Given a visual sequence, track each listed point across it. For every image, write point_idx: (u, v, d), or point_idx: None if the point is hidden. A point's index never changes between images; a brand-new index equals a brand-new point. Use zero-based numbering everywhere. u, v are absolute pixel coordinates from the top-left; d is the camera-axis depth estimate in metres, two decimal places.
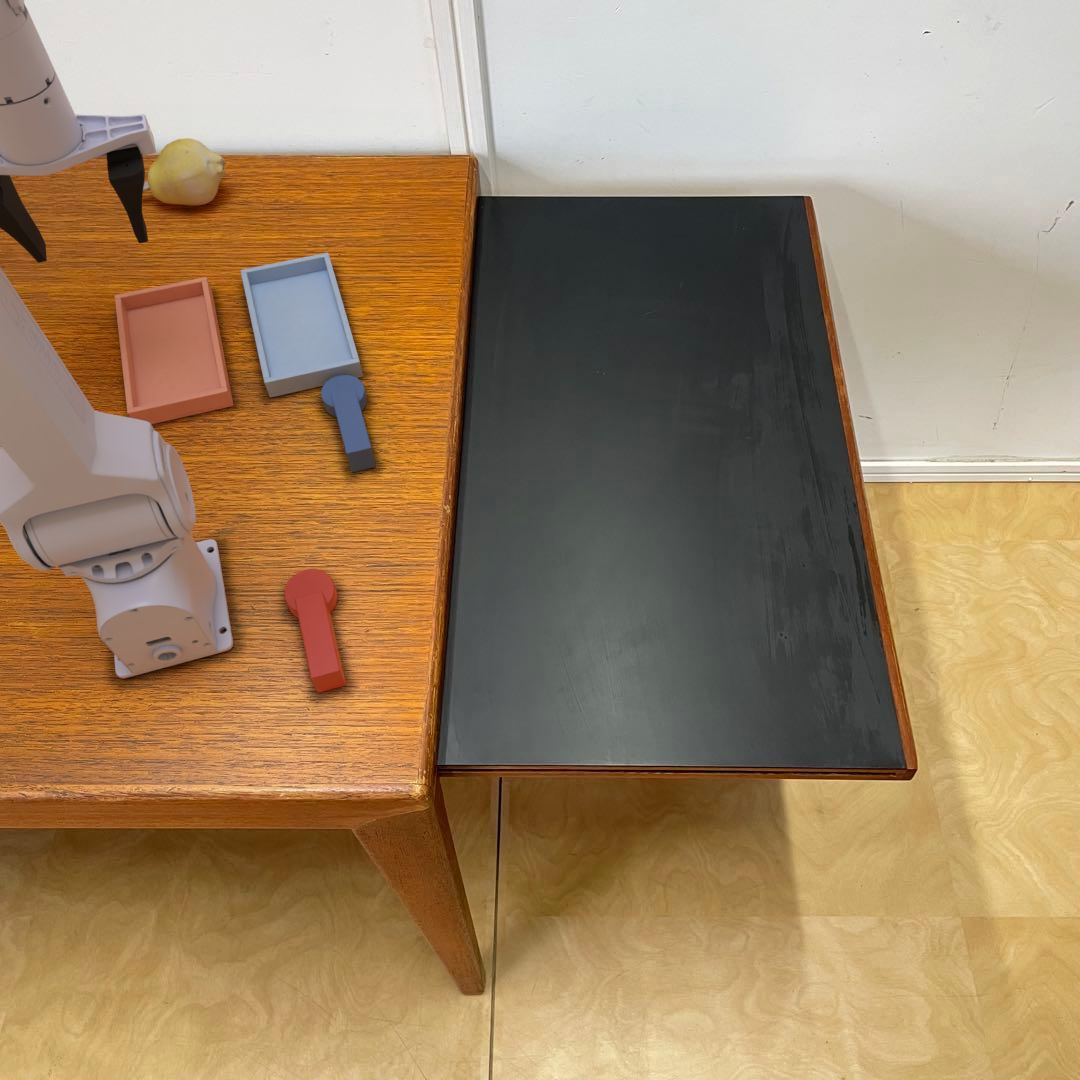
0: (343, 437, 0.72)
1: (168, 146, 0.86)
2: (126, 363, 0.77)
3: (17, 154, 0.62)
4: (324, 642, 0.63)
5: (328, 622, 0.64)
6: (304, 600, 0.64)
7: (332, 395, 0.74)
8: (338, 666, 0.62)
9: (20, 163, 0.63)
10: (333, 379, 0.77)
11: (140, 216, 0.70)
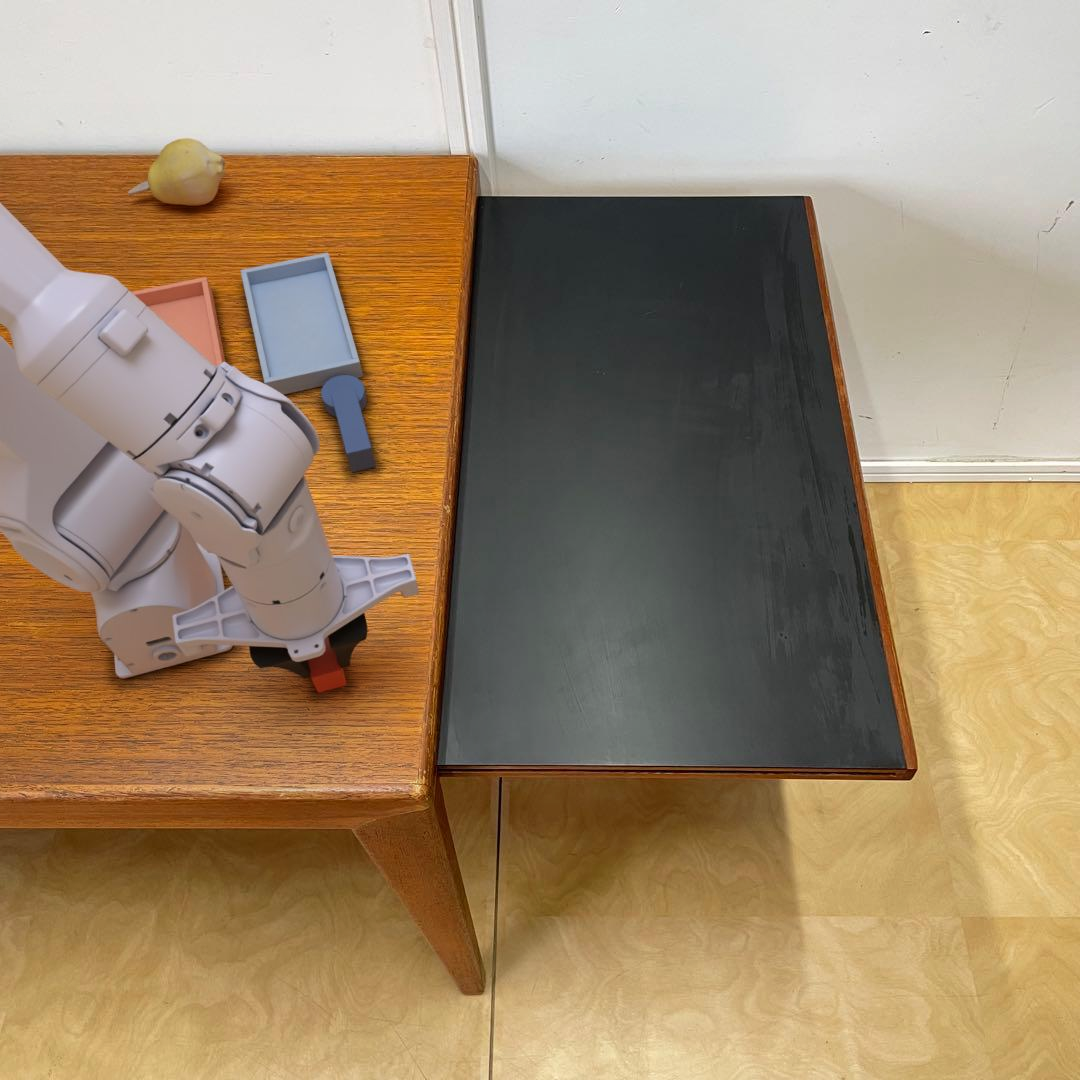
0: (343, 437, 0.72)
1: (168, 146, 0.86)
2: None
3: None
4: None
5: None
6: None
7: (332, 395, 0.74)
8: (338, 666, 0.62)
9: None
10: (333, 379, 0.77)
11: None
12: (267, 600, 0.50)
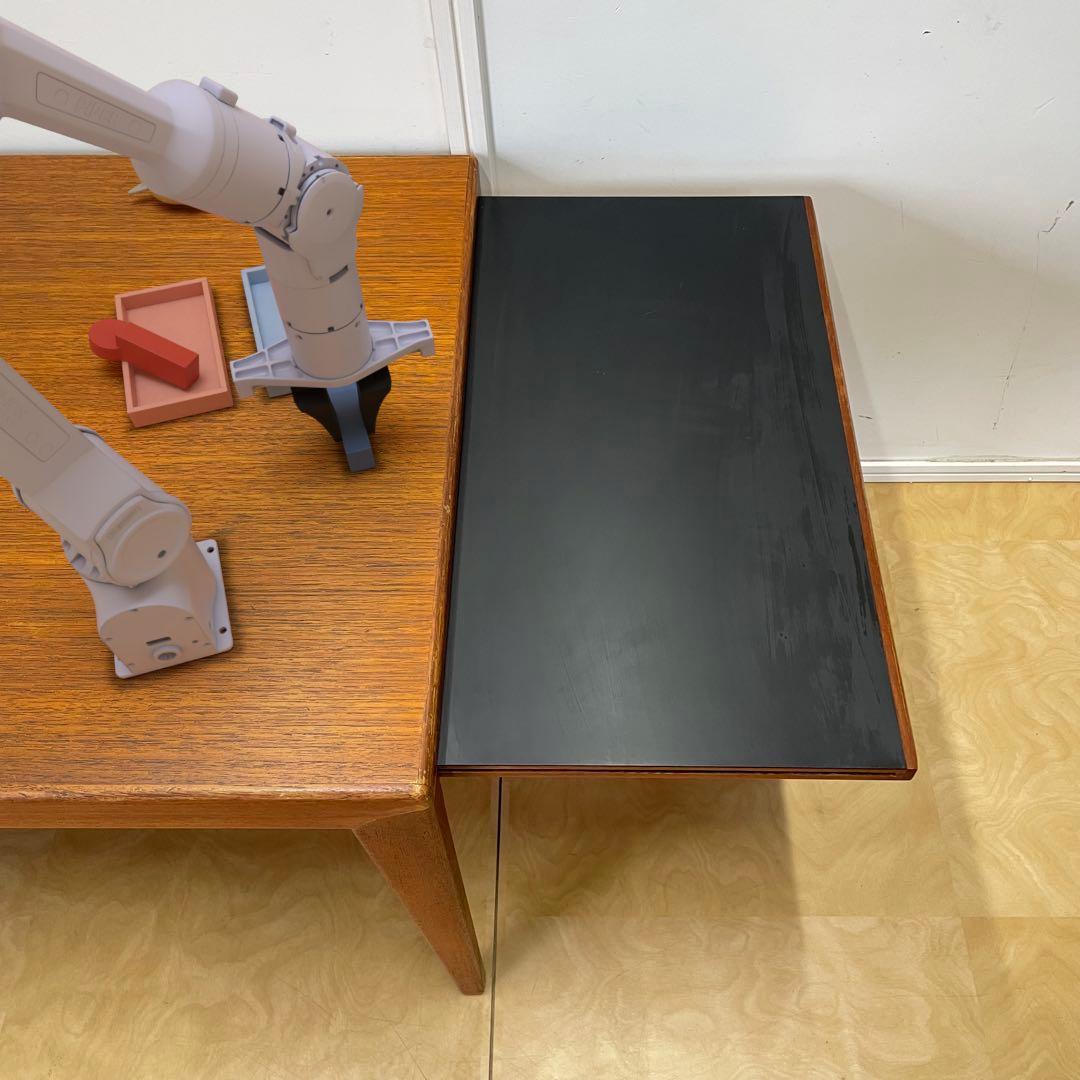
0: (343, 437, 0.72)
1: None
2: (126, 363, 0.77)
3: (320, 370, 0.64)
4: (168, 345, 0.76)
5: (157, 335, 0.76)
6: (124, 332, 0.75)
7: (332, 395, 0.74)
8: (195, 353, 0.76)
9: (320, 377, 0.65)
10: None
11: (375, 415, 0.71)
12: (358, 307, 0.62)
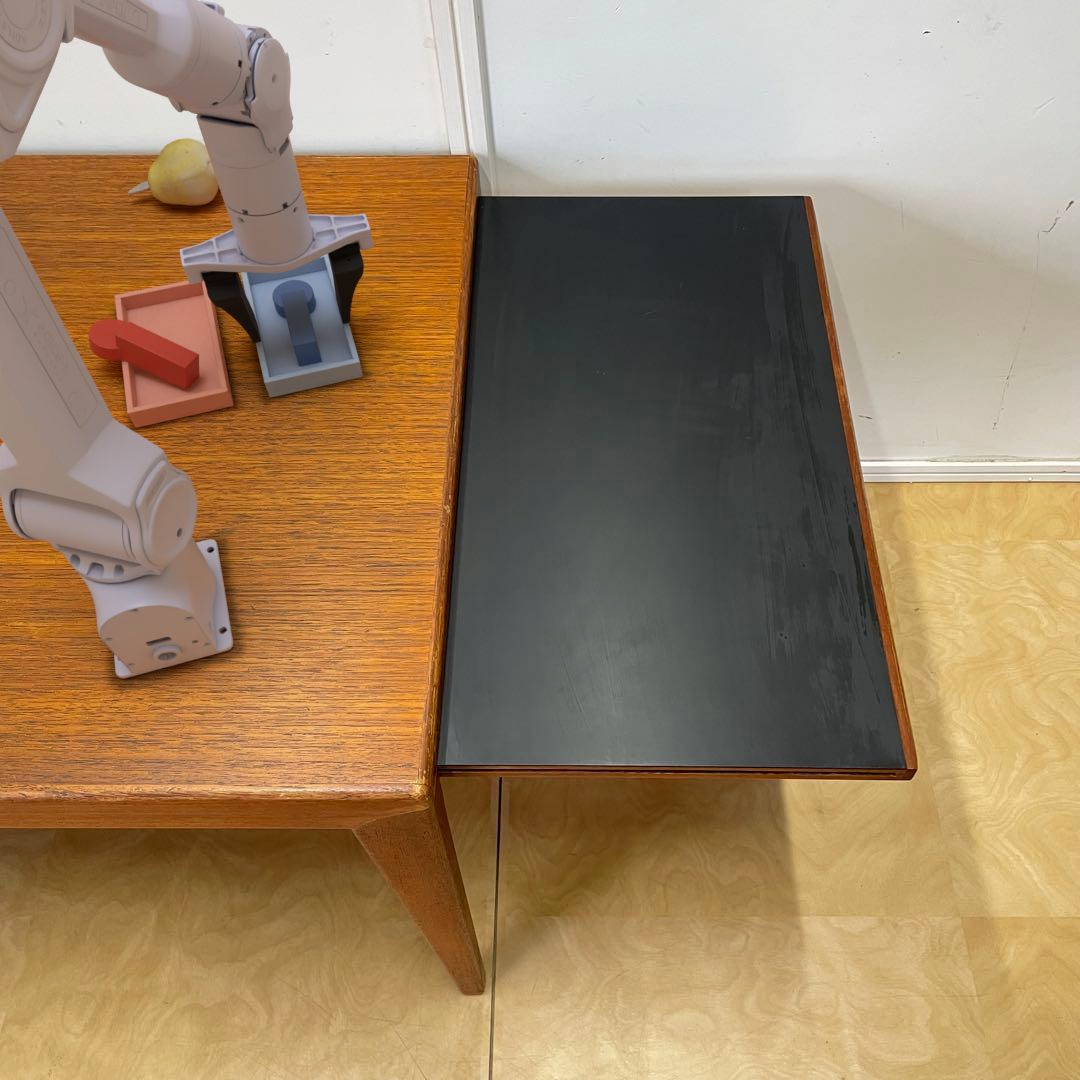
0: (290, 332, 0.77)
1: (168, 146, 0.86)
2: (126, 363, 0.77)
3: (262, 255, 0.69)
4: (168, 345, 0.76)
5: (157, 335, 0.76)
6: (124, 332, 0.75)
7: (282, 295, 0.80)
8: (195, 353, 0.76)
9: (263, 262, 0.70)
10: (284, 283, 0.82)
11: (350, 302, 0.77)
12: (299, 181, 0.67)
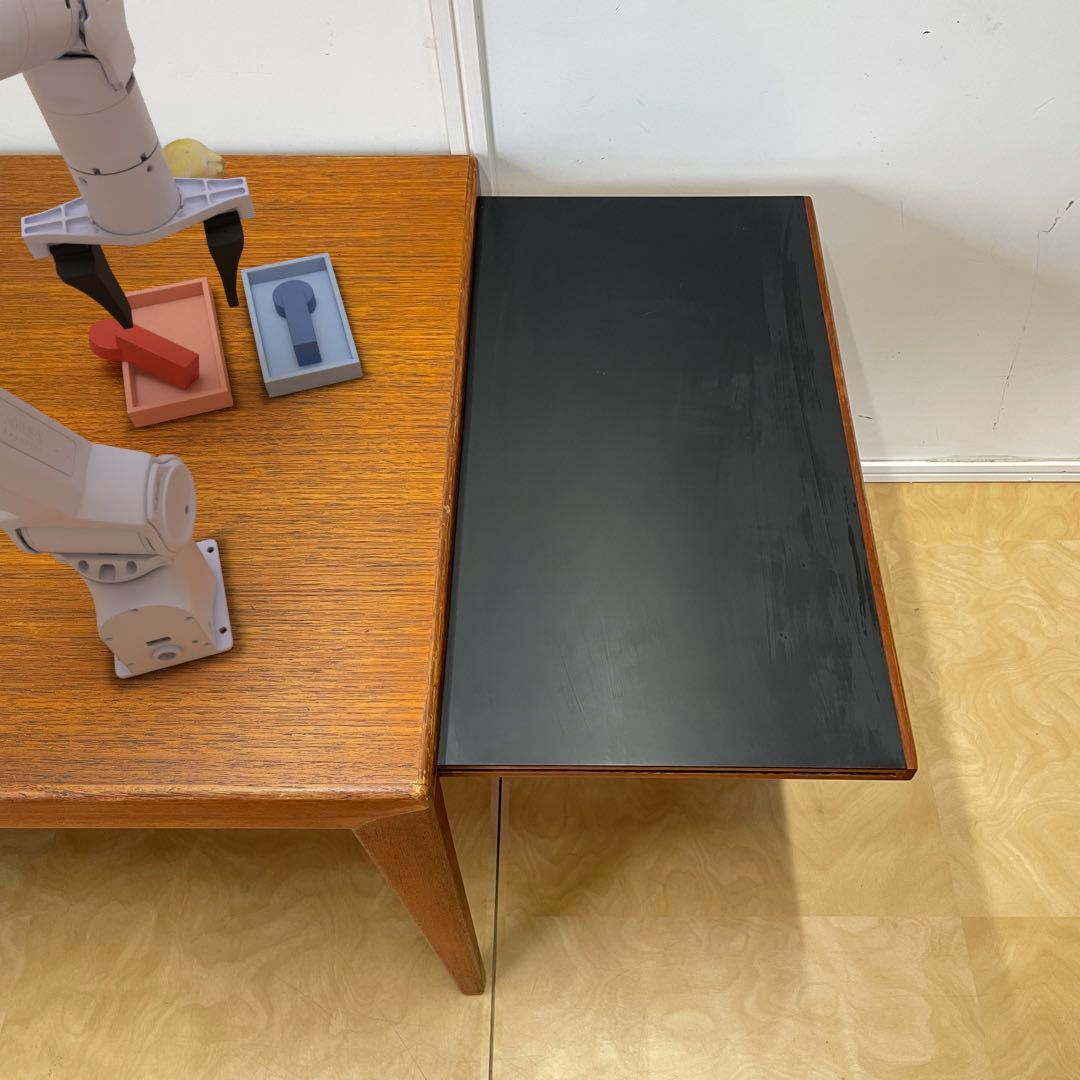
0: (290, 332, 0.77)
1: (168, 146, 0.86)
2: (126, 363, 0.77)
3: (115, 223, 0.58)
4: (168, 345, 0.76)
5: (157, 335, 0.76)
6: (124, 332, 0.75)
7: (282, 295, 0.80)
8: (195, 353, 0.76)
9: (117, 232, 0.59)
10: (284, 283, 0.82)
11: (234, 281, 0.66)
12: (154, 128, 0.57)
